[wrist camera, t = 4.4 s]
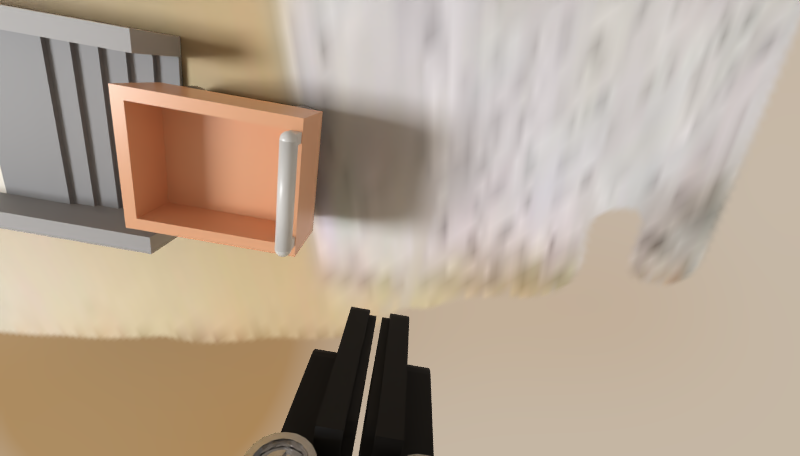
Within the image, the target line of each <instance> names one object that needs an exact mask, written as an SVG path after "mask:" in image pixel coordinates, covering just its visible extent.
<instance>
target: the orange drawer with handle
mask: <svg viewBox="0 0 800 456" xmlns="http://www.w3.org/2000/svg"><path fill="white" fill-rule="evenodd" d="M108 87H109V95H110V104H111V112H112V120H113V128H114V136H115V144H116V152H117V160H118V168H119V176H120V184H121V193H122V201H123V209H124V217H125V225H126V228H131V229H137V230H143V231H149V232H155V233H160V234H166V235H172V236H178V237H183V238H189V239H195V240H201V241H207V242H212V243H218V244H224V245H230V246H236V247H241V248H247V249H253V250H259V251H265V252H270V253H276V254H277V255H279V256H281V257H285V256H287V255H288V256H294V257H295V255H296V254H297V252H298V251H299V250H300V248H301V247H302V245H303V244H304V242H305V241H306V240H307V238H308V237H309V235H310V234H311V232H312V231H313V220H314V209H315V197H316V185H317V173H318V161H319V149H320V137H321V128H322V114H323V111H317V110H313V109H312V108H310V107H308V106H303V105H299V106H289V105H284V104H278V103H273V102H267V101H262V100H256V99H250V98H245V97H239V96H234V95H228V94H222V93H217V92H211V91H206V90H205V89H203V88H201V87H198V86H187V87H183V86H178V85H172V84H167V83H161V82H144V83H108Z"/></svg>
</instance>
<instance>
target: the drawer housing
mask: <svg viewBox="0 0 800 456" xmlns="http://www.w3.org/2000/svg"><path fill="white" fill-rule="evenodd" d="M144 82H161V83H167V84H172V85H178V86H183V82H182V63H181V43H180V37H179V36H174V35H168V34H163V33H157V32H152V31H146V30H141V29H135V28H130V27H124V26H119V25H113V24H108V23H102V22H97V21H91V20H86V19H80V18H75V17H69V16H64V15H58V14H53V13H47V12H42V11H36V10H31V9H25V8H20V7H14V6H9V5H3V4H0V228H3V229H9V230H14V231H20V232H26V233H32V234H38V235H44V236H49V237H55V238H61V239H67V240H73V241H79V242H84V243H90V244H96V245H102V246H108V247H114V248H119V249H125V250H131V251H137V252H143V253H148V254H152V253H154V252H155V251H157V250H158V249H160V248H161V247H163V246H164V245H166V244H167V243H169V242H170V241H172V240H173V239H175V238H176V237H178V236H172V235H166V234H160V233H155V232H149V231H143V230H137V229H131V228H126V225H125V217H124V209H123V201H122V193H121V184H120V176H119V168H118V160H117V152H116V144H115V136H114V128H113V120H112V112H111V104H110V95H109V87H108V83H144Z"/></svg>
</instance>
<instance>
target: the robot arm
mask: <svg viewBox="0 0 800 456" xmlns="http://www.w3.org/2000/svg"><path fill="white" fill-rule="evenodd" d="M369 314H370V310H367V309H361V308H355V307H351V310H350V313H349V316H348V320H347V323H346V326H345V329H344V333H343V336H342V339H341V343H340V346H339V349H338V352H337V353H336V352H330V351H324V350H318V349H315V350H314V351H313V353H312V355H311V358H310V360H309V363H308V365H307V368H306V370H305V373H304V375H303V378H302V380H301V383H300V386H299V388H298V390H297V393H296V395H295V398H294V400H293V403H292V406H291V408H290V411H289V413H288V415H287V418H286V421H285V423H284V426H283V428H282V431H281V433H274V434H271V435H269V436H266V437H263V438H262V439H260V440H259V441H257V442H256V443H255V444H253V445H252V447H251V448H250V449H249V450H248V451H247V452H246V454H245V455H244V456H352V452H353V446H354V441H355V435H356V430H357V425H358V419H359V413H360V408H361V402H362V397H363V391H364V385H365V380H366V374H367V368H368V362H369V356H370V351H371V345H372V339H373V333H374V328H375V322H376V316H372V315H369ZM408 332H409V317H407V316H402V315H396V314H390V318H383V317H382V322H381V328H380V333H379V339H378V345H377V350H376V356H375V361H374V367H373V373H372V378H371V384H370V390H369V395H368V401H367V407H366V413H365V419H364V425H363V431H362V438H361V444H360V450H359V456H434V453H433V429H432V403H431V379H430V369H429V368H424V367H418V366H413V365H407V358H408V334H409V333H408Z"/></svg>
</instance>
